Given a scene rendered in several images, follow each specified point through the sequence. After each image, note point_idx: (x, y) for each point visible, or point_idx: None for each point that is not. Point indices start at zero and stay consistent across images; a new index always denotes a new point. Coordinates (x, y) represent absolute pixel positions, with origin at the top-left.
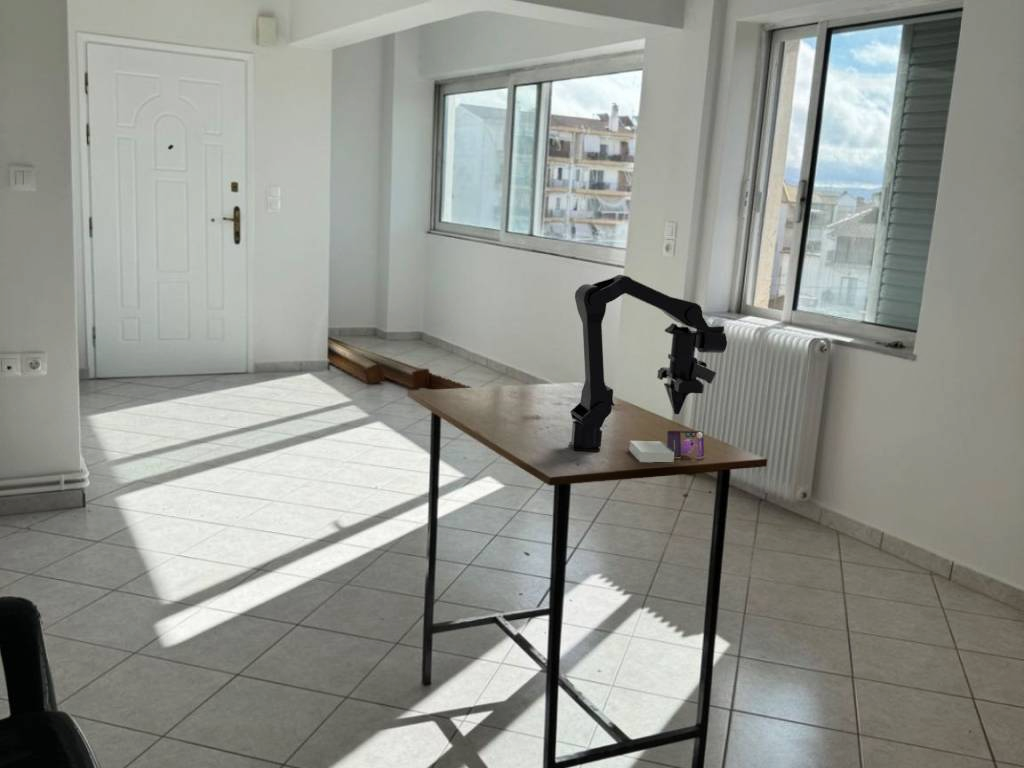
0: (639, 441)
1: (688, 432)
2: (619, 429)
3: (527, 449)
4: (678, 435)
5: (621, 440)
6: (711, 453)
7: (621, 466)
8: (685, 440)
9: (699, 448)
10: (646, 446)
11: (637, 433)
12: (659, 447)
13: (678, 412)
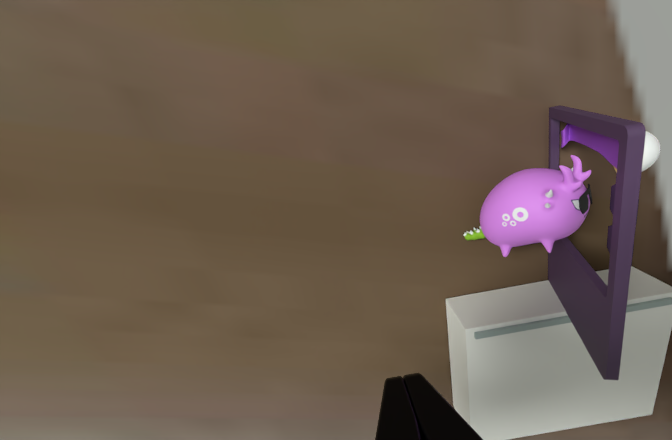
0: (479, 416)
1: (631, 249)
2: (105, 431)
3: None
4: (600, 299)
5: (300, 426)
6: (426, 30)
7: (660, 427)
8: (565, 236)
9: (586, 139)
10: (564, 394)
11: (138, 371)
12: (580, 346)
13: (430, 393)
